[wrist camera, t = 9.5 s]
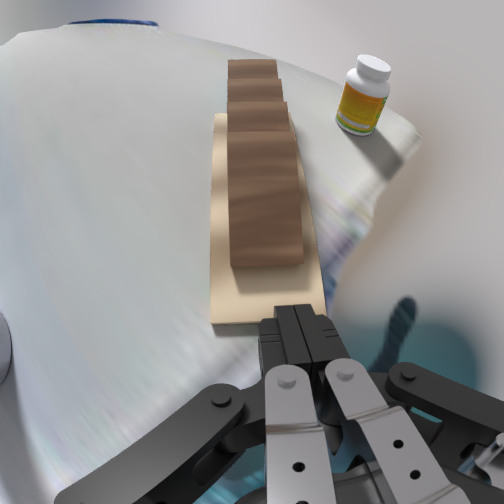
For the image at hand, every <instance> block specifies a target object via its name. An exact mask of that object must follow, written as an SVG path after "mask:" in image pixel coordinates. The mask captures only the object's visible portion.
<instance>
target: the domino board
mask: <svg viewBox="0 0 504 504" xmlns="http://www.w3.org/2000/svg"><path fill="white" fill-rule="evenodd" d="M288 116H289V126H290V132H294V127H293V123H292V119H291V115H290V113H288ZM294 137H295V147H296V157H297V168H298V179H299V191H300V205H301V219H302V236H303V255H304V264H290V265H267V266H244V267H230V244H229V214H228V176H227V113H219V114H215V123H214V141H213V163H212V190H211V231H210V315H211V324H212V325H217V324H246V323H260V322H261V320H262V319H263V318H273V314H274V306H280V305H295V304H311V305H312V308H313V310H314V312H315V314H316V315H319V314H324V315H325V316H327V315H326V307H325V299H324V291H323V284H322V277H321V270H320V263H319V256H318V250H317V244H316V238H315V232H314V226H313V220H312V214H311V209H310V203H309V198H308V193H307V188H306V183H305V178H304V173H303V168H302V163H301V158H300V154H299V149H298V145H297V140H296V136H295V132H294Z"/></svg>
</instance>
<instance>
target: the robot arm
mask: <svg viewBox="0 0 504 504" xmlns="http://www.w3.org/2000/svg"><path fill="white" fill-rule="evenodd" d="M258 350H259V363H260V370H261V380H260V381H259V382H258V383H257V384H255V385H253V386H251V387H249V388H246V389H243V390H239V389H238V388H237V387H235V386H233V385H229V384H221V383H220V384H214V385H210V386H208V387H206V388H205V389H203V390H202V391H201V392H200V393H198V394H197V395H196V396H195V397H193V398H192V399H191V400H190V401H189V402H187V403H186V404H185V405H184V406H182V407H181V408H180V409H179V410H177V411H176V412H175V413H174V414H172V415H171V416H170V417H168V418H167V419H166V420H165V421H163V422H162V423H161V424H159V425H158V426H157V427H155V428H154V429H153V430H151V431H150V432H149V433H147V434H146V435H145V436H143V437H142V438H141V439H139V440H138V441H137V442H135V443H134V444H132V445H131V446H130V447H128V448H127V449H125V450H124V451H123V452H121V453H120V454H118V455H117V456H115V457H114V458H112V459H111V460H109V461H108V462H107V463H105V464H104V465H102V466H101V467H99V468H98V469H96V470H94V471H93V472H91V473H90V474H88V475H87V476H85V477H84V478H82V479H80V480H79V481H77V482H76V483H74V484H72V485H71V486H69V487H67V488H66V489H64V490H62V491H61V492H60V493H59V494H58V495H57V496H56V498H55V500H54V504H193V503H194V502H195V501H196V500H197V499H198V498H199V497H200V496H201V495H203V494H204V493H205V492H206V491H207V490H208V489H209V488H210V487H211V486H212V485H213V484H214V483H215V482H216V481H217V480H218V479H219V478H220V477H221V476H222V475H223V474H224V473H225V472H226V471H227V470H228V469H229V468H230V467H231V466H232V465H233V464H234V463H235V462H236V461H237V460H238V459H239V458H240V457H241V456H242V455H243V453H244V452H245V451H246V449H248V448H251V447H254V446H257V445H260V444H262V443H264V486H263V487H260V488H258V489H255V490H253V491H251V492H250V493H248V494H246V495H245V496H243V497H242V498H240V499H239V500H238V501H237V502H235V503H234V504H504V401H501V400H499V399H496V398H493V397H491V396H489V395H486V394H483V393H481V392H478V391H476V390H474V389H471V388H469V387H467V386H464V385H462V384H459V383H457V382H454V381H452V380H450V379H448V378H445V377H443V376H441V375H438V374H436V373H434V372H431V371H429V370H427V369H425V368H422V367H420V366H418V365H415V364H413V363H408V362H401V363H397V364H395V365H394V366H392V367H391V369H390V371H389V373H375V372H368V371H366V370H365V368H364V367H363V366H362V365H361V364H360V363H359V362H357V361H355V360H352V359H351V358H350V356H349V354H348V352H347V350H346V348H345V346H344V344H343V342H342V340H341V338H340V337H339V334H338V332H337V330H336V329H335V327H334V325H333V322H332V321H331V320H330V319H329V318H328V317H326V316H325V315H324V314H319V315H316V314H315V312H314V310H313V308H312V305H311V304H295V305H280V306H274V314H273V318H263V319H262V320H261V322H260V324H259V326H258ZM10 358H11V341H10V333H9V329H8V326H7V323H6V320H5V318H4V317H3V315H2V314H1V312H0V384H1V383H2V382H3V380H4V379H5V377H6V375H7V372H8V369H9V365H10ZM314 406H315V408H314ZM412 407H415V408H417V409H419V410H421V411H423V412H425V413H427V414H429V415H432V416H434V417H436V418H438V419H440V420H442V422H439V423H435V422H432V421H430V420H428V419H426V418H424V417H422V416H420V415H417V414H415V413H413V412H411V411H410V410H411V408H412ZM315 409H316V413H315Z"/></svg>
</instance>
